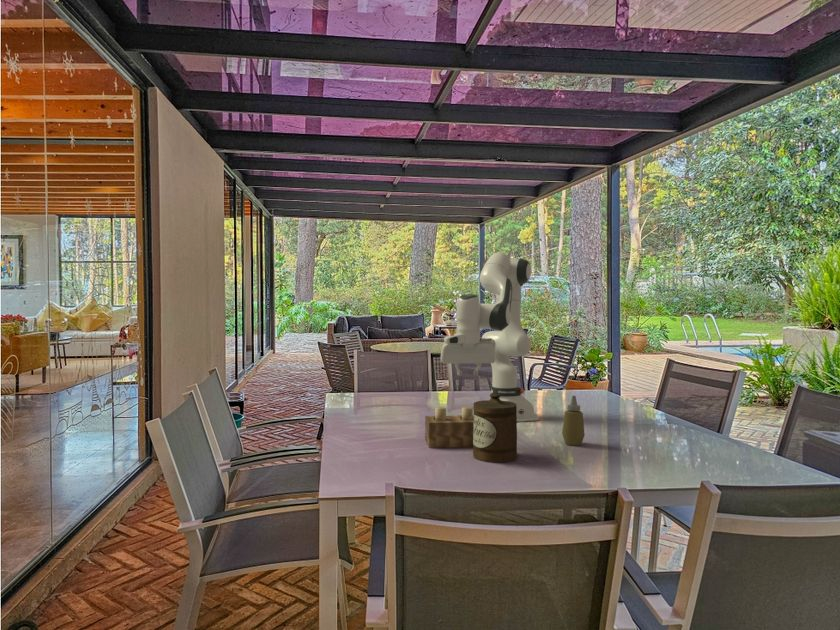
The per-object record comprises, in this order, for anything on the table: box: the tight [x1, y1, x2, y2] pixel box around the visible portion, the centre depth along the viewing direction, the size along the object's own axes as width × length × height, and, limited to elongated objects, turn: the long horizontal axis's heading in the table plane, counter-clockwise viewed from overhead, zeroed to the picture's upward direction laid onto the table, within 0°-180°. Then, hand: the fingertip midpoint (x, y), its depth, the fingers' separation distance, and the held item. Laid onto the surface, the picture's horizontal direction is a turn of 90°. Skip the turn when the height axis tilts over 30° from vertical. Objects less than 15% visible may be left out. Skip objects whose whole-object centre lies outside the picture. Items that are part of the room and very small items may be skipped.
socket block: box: [424, 414, 474, 449], centre depth 215 cm, size 20×12×9 cm, turn 96°
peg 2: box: [461, 406, 474, 420], centre depth 215 cm, size 4×4×8 cm
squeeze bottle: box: [561, 395, 585, 447], centre depth 214 cm, size 8×8×18 cm
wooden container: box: [472, 392, 518, 463], centre depth 197 cm, size 15×15×22 cm
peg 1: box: [434, 406, 447, 421], centre depth 214 cm, size 4×4×8 cm
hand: (467, 375), depth 215 cm, fingers open, 5 cm apart
